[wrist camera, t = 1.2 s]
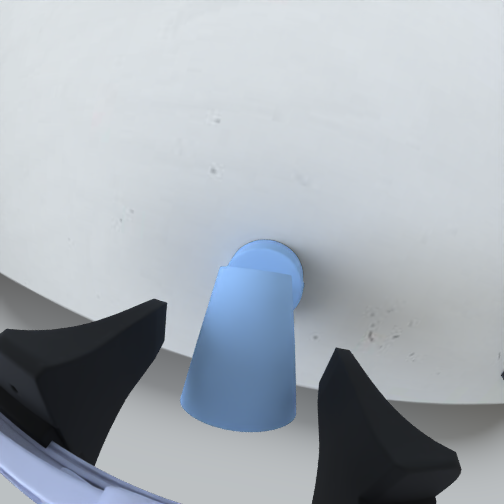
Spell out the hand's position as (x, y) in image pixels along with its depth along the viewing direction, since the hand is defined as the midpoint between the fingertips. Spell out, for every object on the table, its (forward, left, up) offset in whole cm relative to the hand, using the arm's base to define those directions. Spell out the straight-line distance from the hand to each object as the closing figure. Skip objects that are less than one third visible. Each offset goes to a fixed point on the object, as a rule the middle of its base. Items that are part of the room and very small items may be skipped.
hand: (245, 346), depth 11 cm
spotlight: (0, 0, -7) cm, 7 cm away
